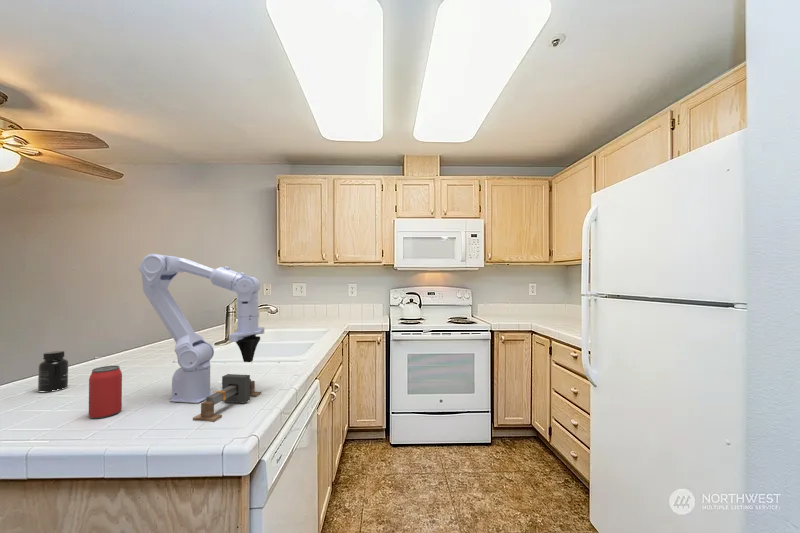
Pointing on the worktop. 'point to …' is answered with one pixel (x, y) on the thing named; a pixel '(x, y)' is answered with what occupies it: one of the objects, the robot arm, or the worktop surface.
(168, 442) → the worktop surface
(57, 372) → the supplement bottle
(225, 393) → the square bar stand
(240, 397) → the collar
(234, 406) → the worktop surface
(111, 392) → the beer can
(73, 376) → the worktop surface
